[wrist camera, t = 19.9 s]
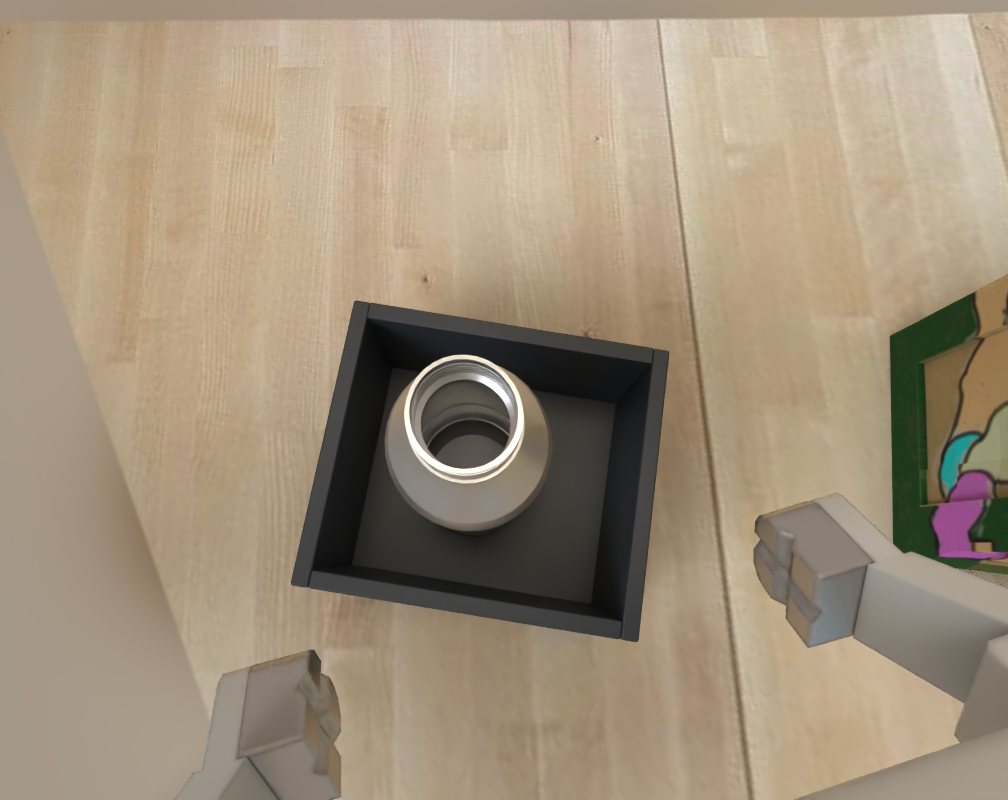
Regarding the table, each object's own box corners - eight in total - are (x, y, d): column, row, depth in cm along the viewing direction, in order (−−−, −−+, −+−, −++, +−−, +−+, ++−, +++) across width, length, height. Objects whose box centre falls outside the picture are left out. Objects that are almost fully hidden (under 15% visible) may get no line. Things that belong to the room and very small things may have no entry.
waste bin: (338, 575, 38) (289, 585, 29) (384, 356, 41) (354, 299, 32) (600, 618, 38) (638, 642, 29) (627, 396, 41) (669, 350, 32)
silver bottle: (504, 409, 40) (522, 278, 20) (545, 514, 39) (606, 479, 19) (404, 446, 39) (325, 346, 20) (442, 554, 38) (397, 560, 18)
